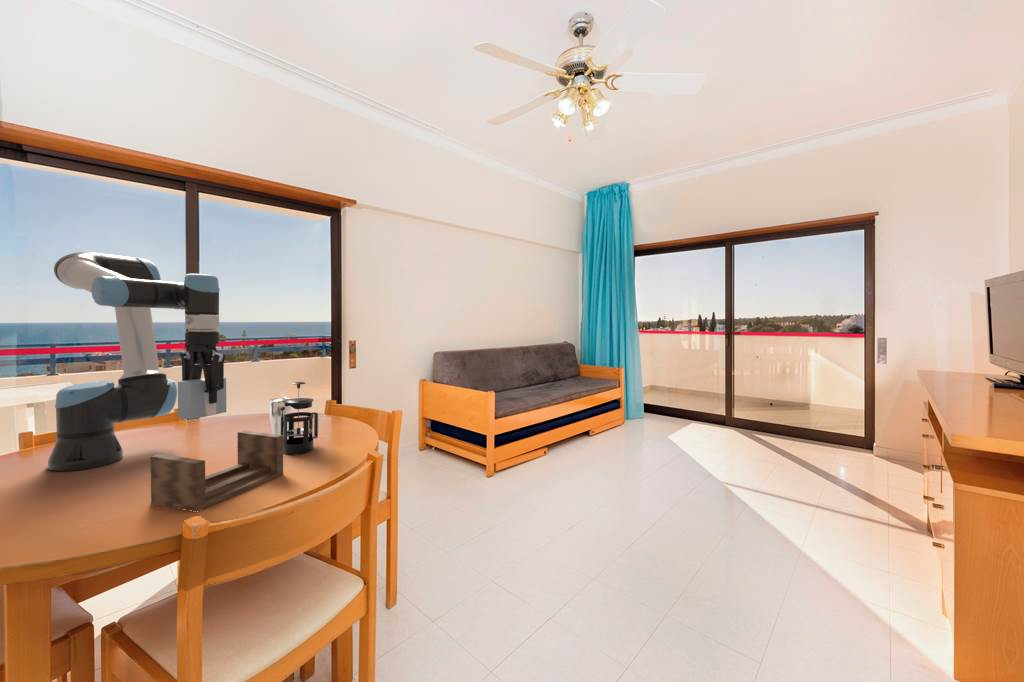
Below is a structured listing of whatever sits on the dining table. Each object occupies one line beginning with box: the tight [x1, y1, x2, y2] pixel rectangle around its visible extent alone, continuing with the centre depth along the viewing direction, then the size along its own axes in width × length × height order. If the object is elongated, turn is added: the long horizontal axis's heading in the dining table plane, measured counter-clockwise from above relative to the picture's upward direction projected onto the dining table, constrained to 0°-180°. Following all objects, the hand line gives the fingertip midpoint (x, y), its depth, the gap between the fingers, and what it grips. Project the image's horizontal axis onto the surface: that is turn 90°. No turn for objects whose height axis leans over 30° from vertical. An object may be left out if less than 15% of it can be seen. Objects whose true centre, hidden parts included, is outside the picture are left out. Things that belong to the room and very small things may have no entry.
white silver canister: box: [268, 397, 293, 441], centre depth 144 cm, size 7×7×15 cm
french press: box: [283, 381, 319, 456], centre depth 134 cm, size 12×9×23 cm
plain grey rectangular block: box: [177, 377, 227, 421], centre depth 112 cm, size 4×10×10 cm, turn 165°
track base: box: [150, 430, 284, 513], centre depth 104 cm, size 14×24×11 cm, turn 165°
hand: (203, 413), depth 112 cm, fingers closed on plain grey rectangular block, 4 cm apart
